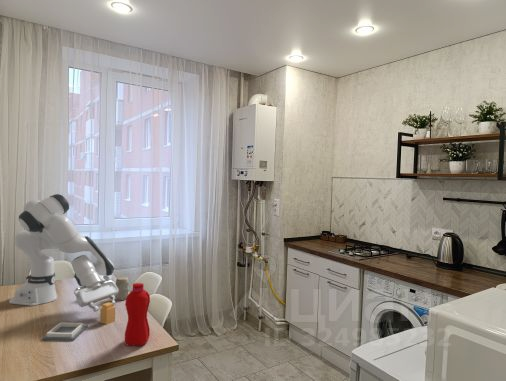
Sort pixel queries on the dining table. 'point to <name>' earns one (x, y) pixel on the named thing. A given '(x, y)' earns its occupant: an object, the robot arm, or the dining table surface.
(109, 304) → the stepped orange block
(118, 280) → the carving
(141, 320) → the water bottle
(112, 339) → the dining table surface
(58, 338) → the base
